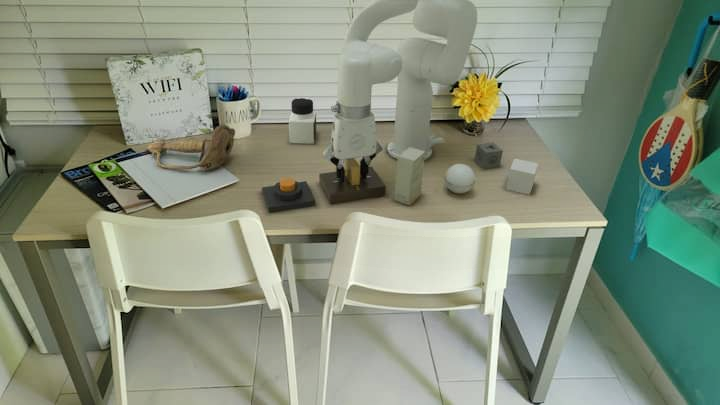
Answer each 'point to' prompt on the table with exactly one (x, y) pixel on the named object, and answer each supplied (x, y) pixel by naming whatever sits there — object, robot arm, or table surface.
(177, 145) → the sword hilt
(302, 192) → the black knob base
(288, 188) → the bell button
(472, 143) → the table surface
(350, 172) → the lock turn
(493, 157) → the dice cube
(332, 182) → the plate
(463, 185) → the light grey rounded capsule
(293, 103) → the medicine bottle
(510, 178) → the light grey cube
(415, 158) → the cosmetic box
